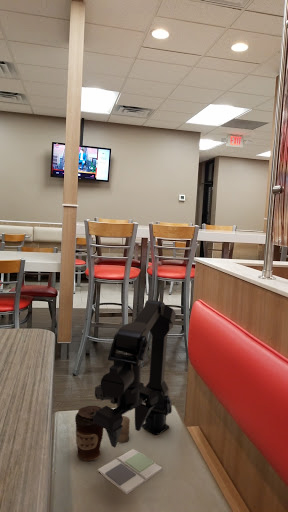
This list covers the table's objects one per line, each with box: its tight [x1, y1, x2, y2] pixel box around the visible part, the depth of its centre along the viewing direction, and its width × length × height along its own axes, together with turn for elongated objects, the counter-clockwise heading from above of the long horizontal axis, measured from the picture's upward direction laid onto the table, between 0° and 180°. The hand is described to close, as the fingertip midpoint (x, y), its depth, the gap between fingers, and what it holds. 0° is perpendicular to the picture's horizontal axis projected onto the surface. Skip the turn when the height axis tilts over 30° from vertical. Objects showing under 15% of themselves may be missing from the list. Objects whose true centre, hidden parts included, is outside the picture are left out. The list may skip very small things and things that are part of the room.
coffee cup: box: [74, 405, 104, 462], centre depth 107 cm, size 9×8×13 cm
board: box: [97, 448, 163, 495], centre depth 102 cm, size 13×11×1 cm
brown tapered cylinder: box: [118, 415, 131, 444], centre depth 115 cm, size 4×4×6 cm
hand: (126, 438), depth 96 cm, fingers open, 9 cm apart
